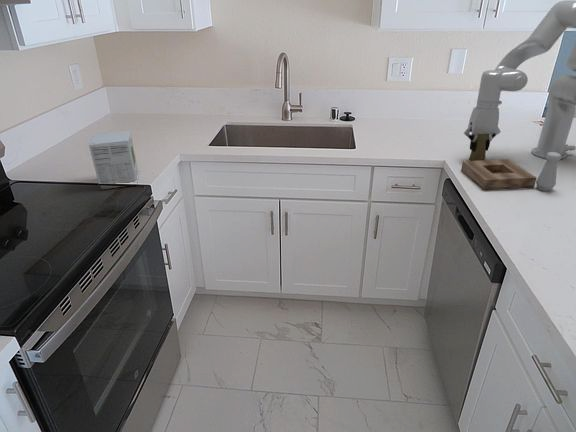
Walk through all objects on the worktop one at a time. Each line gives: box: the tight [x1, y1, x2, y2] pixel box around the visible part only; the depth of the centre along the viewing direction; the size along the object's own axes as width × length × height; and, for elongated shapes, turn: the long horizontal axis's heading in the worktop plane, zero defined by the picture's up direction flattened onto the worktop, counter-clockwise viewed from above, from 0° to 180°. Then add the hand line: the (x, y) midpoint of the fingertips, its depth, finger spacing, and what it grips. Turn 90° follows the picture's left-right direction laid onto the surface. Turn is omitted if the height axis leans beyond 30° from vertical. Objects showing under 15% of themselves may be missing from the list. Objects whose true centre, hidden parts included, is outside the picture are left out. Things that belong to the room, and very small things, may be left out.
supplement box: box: [88, 130, 139, 185], centre depth 154 cm, size 13×13×18 cm
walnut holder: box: [460, 158, 538, 192], centre depth 151 cm, size 18×18×4 cm
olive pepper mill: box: [468, 134, 489, 161], centre depth 167 cm, size 6×6×11 cm
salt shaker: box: [535, 152, 562, 192], centre depth 141 cm, size 6×6×13 cm
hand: (478, 149), depth 168 cm, fingers closed on olive pepper mill, 4 cm apart
